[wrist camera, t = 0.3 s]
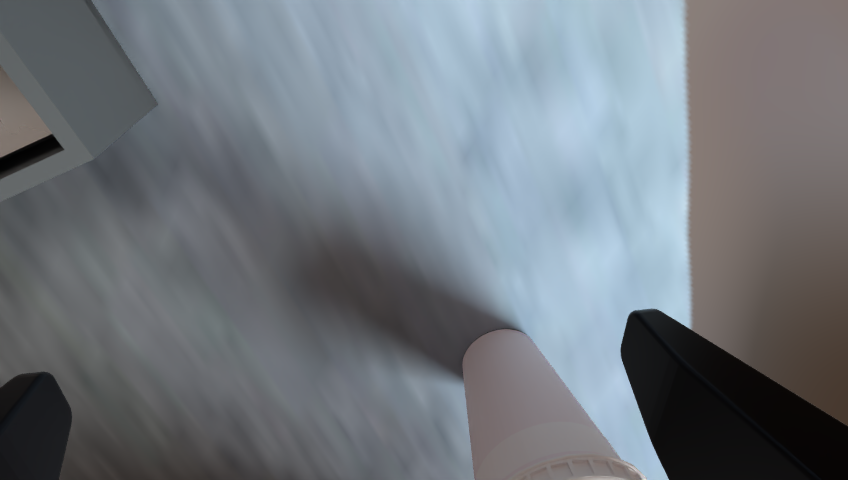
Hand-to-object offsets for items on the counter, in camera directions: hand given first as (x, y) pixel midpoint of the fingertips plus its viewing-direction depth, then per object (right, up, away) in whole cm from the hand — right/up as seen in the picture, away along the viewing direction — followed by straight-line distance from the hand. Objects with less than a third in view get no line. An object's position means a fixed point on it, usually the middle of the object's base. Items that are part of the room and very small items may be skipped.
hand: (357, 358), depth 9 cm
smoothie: (+5, -4, +19) cm, 20 cm away
